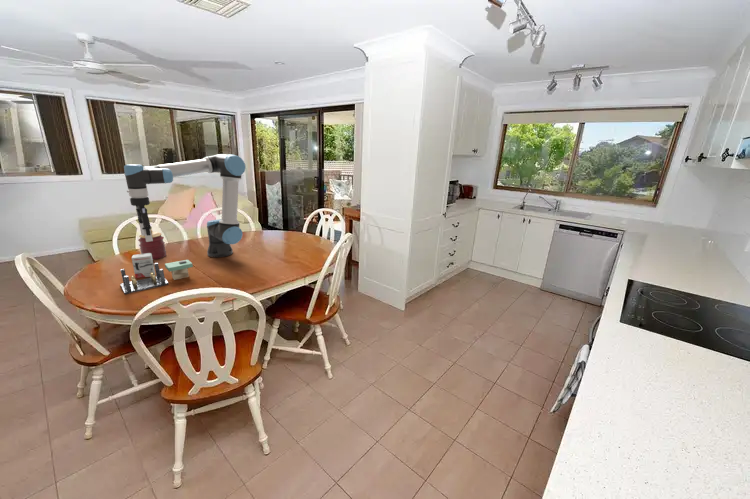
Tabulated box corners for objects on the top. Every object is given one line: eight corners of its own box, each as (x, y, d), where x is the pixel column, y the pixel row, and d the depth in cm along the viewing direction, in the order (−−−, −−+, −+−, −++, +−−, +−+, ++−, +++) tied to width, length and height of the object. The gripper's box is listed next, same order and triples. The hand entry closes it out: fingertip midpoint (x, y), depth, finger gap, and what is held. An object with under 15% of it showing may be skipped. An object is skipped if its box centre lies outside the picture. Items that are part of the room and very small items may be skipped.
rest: (187, 274, 171) (185, 264, 169) (188, 276, 169) (187, 266, 167) (172, 278, 167) (170, 267, 165) (174, 279, 164) (172, 269, 162)
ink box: (135, 278, 164) (131, 257, 160) (136, 275, 167) (131, 254, 164) (155, 275, 168) (151, 255, 165) (155, 272, 172) (151, 252, 168)
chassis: (162, 276, 167) (160, 262, 165) (168, 284, 159) (166, 269, 156) (120, 285, 155) (117, 269, 152) (124, 294, 146) (121, 278, 144)
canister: (143, 261, 187) (137, 233, 182) (140, 255, 196) (135, 228, 191) (168, 257, 195) (163, 230, 190) (164, 252, 204) (160, 226, 199)
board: (188, 262, 172) (187, 258, 171) (192, 266, 167) (192, 262, 166) (165, 267, 165) (164, 262, 164) (169, 271, 160) (168, 266, 159)
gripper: (126, 194, 158) (134, 233, 165) (133, 201, 141) (142, 245, 148) (144, 193, 163) (151, 231, 170) (153, 200, 146) (160, 242, 153)
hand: (147, 238), depth 159 cm, fingers open, 13 cm apart
